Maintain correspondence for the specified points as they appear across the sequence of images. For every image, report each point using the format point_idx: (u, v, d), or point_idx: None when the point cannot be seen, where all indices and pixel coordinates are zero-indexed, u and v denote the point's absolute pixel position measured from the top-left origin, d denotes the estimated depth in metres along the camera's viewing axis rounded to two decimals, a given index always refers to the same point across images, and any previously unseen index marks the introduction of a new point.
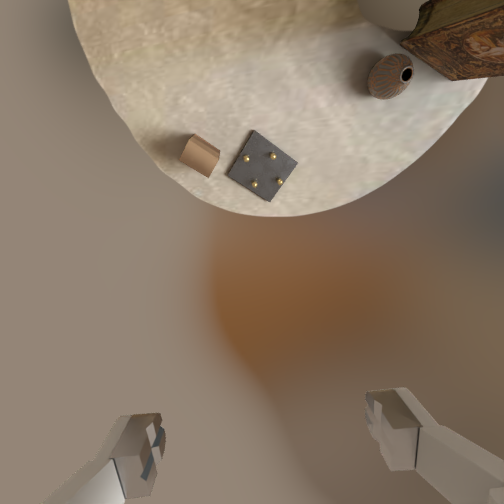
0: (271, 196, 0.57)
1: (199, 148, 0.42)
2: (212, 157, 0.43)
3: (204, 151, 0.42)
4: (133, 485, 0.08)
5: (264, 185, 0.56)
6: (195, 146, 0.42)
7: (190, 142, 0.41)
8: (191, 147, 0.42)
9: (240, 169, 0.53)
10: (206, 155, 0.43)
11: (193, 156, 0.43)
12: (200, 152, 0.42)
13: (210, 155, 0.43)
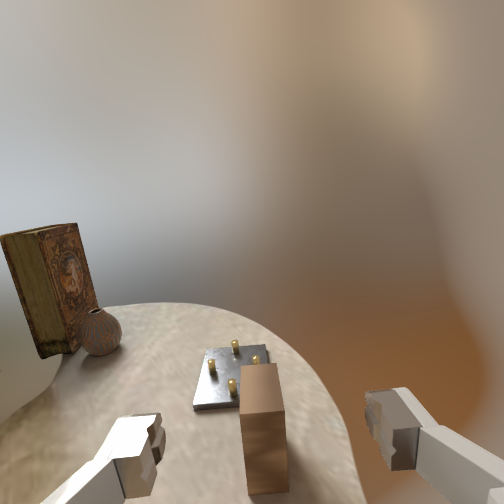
0: (257, 346, 0.44)
1: (242, 393, 0.23)
2: (243, 373, 0.25)
3: (242, 385, 0.24)
4: (133, 485, 0.08)
5: (251, 358, 0.41)
6: (243, 399, 0.22)
7: (242, 409, 0.21)
8: (249, 404, 0.22)
9: None
10: (246, 380, 0.24)
11: (260, 393, 0.23)
12: (247, 389, 0.23)
13: (242, 376, 0.25)
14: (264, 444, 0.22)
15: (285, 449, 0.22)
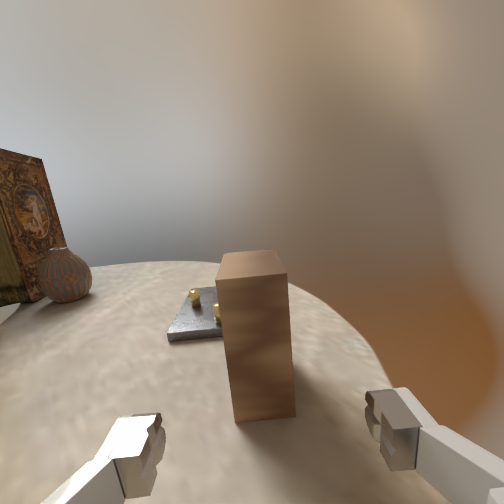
0: None
1: (223, 267, 0.15)
2: (227, 256, 0.18)
3: (224, 263, 0.16)
4: (133, 485, 0.08)
5: None
6: (223, 271, 0.14)
7: (220, 277, 0.13)
8: (231, 273, 0.14)
9: None
10: (230, 260, 0.17)
11: (250, 266, 0.15)
12: (231, 264, 0.16)
13: (225, 258, 0.17)
14: (256, 335, 0.14)
15: (289, 343, 0.14)
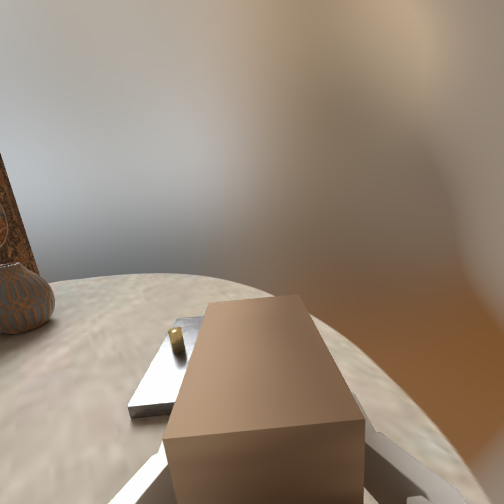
0: None
1: (197, 361, 0.07)
2: (212, 314, 0.09)
3: (202, 341, 0.08)
4: None
5: None
6: (195, 380, 0.06)
7: (180, 417, 0.05)
8: (213, 395, 0.06)
9: None
10: (216, 329, 0.08)
11: (258, 360, 0.07)
12: (216, 349, 0.07)
13: (208, 321, 0.09)
14: None
15: None
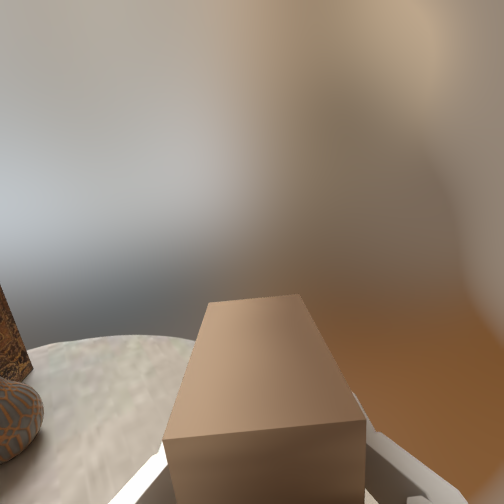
0: None
1: (197, 361, 0.07)
2: (212, 314, 0.09)
3: (202, 341, 0.08)
4: None
5: None
6: (195, 380, 0.06)
7: (180, 418, 0.05)
8: (213, 395, 0.06)
9: None
10: (216, 329, 0.08)
11: (258, 360, 0.07)
12: (216, 349, 0.07)
13: (208, 321, 0.09)
14: None
15: None
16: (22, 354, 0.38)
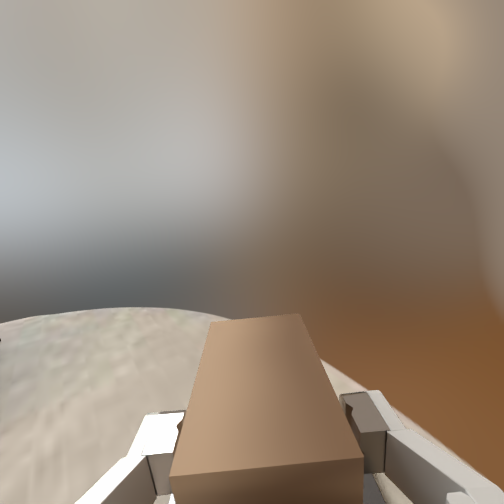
0: None
1: (201, 389, 0.07)
2: (215, 335, 0.10)
3: (205, 366, 0.08)
4: (165, 482, 0.08)
5: None
6: (199, 411, 0.06)
7: (185, 452, 0.05)
8: (217, 428, 0.06)
9: None
10: (219, 352, 0.08)
11: (260, 389, 0.07)
12: (219, 375, 0.07)
13: (211, 343, 0.09)
14: None
15: None
16: None
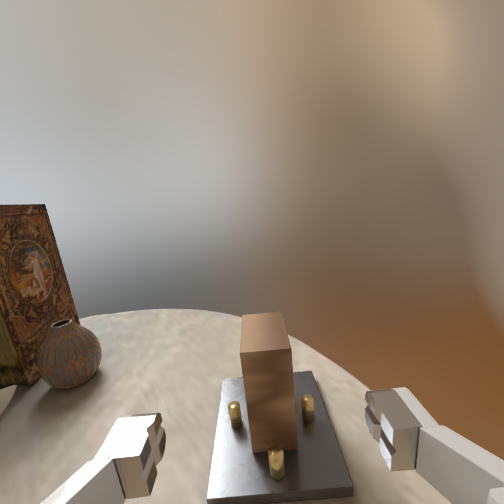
0: (301, 374, 0.29)
1: (243, 336, 0.20)
2: (245, 320, 0.23)
3: (243, 330, 0.21)
4: (133, 485, 0.08)
5: (295, 396, 0.26)
6: (244, 341, 0.20)
7: (243, 349, 0.19)
8: (251, 344, 0.19)
9: (311, 463, 0.19)
10: (248, 326, 0.22)
11: (264, 335, 0.20)
12: (249, 332, 0.21)
13: (244, 323, 0.23)
14: (269, 390, 0.19)
15: (293, 396, 0.19)
16: (75, 318, 0.45)
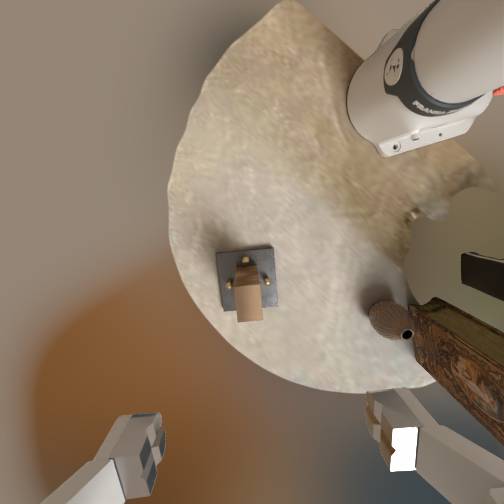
0: (230, 308, 0.48)
1: (259, 297, 0.36)
2: (260, 313, 0.37)
3: (260, 303, 0.37)
4: (133, 485, 0.08)
5: None
6: (258, 293, 0.36)
7: (258, 287, 0.36)
8: (254, 290, 0.36)
9: (231, 261, 0.45)
10: (258, 307, 0.37)
11: (248, 297, 0.36)
12: (256, 300, 0.36)
13: (260, 310, 0.37)
14: (246, 277, 0.39)
15: (235, 276, 0.40)
16: (427, 368, 0.49)
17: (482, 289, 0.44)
